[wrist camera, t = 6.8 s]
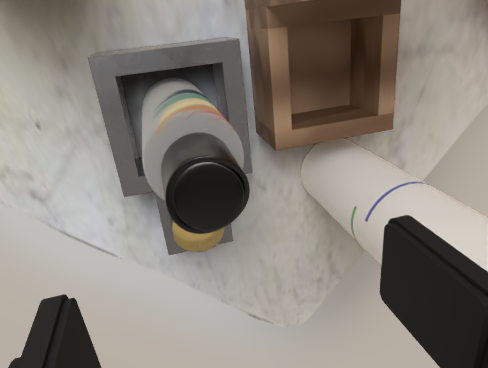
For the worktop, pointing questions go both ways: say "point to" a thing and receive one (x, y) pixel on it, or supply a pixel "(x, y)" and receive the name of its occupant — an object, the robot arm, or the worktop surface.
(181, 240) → the pin
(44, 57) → the worktop surface
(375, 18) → the rack
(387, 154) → the worktop surface
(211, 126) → the lotion bottle
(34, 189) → the worktop surface
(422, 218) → the cylindrical container
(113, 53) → the socket
